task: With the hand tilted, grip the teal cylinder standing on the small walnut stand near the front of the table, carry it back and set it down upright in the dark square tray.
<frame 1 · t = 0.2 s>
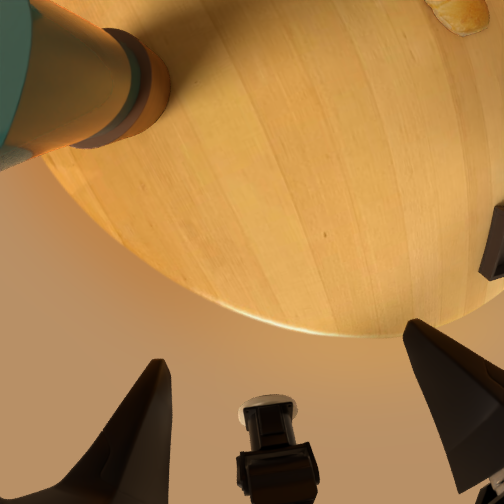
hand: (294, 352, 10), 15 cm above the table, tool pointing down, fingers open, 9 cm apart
teal cylinder: (90, 86, 12), point 6 cm above the table, touching stand
stand: (123, 91, 17), on the table
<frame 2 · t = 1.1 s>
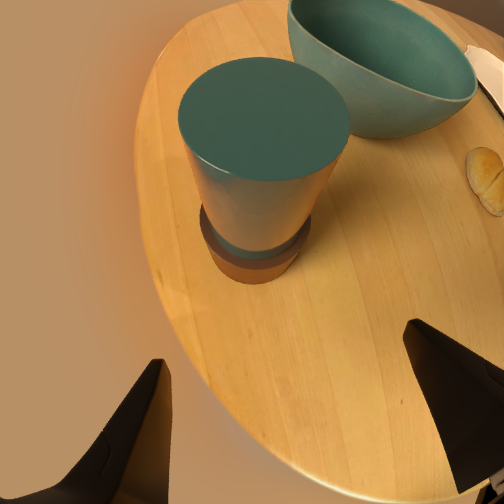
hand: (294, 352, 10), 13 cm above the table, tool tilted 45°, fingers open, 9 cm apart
plant pot: (354, 110, 29), on the table
teal cylinder: (255, 214, 19), point 6 cm above the table, touching stand
bread roll: (485, 186, 27), on the table
stand: (252, 241, 25), on the table
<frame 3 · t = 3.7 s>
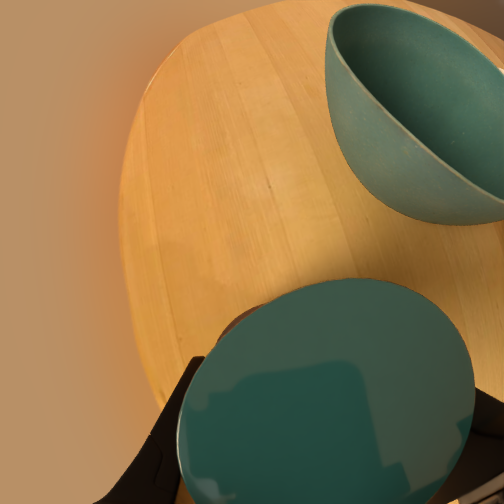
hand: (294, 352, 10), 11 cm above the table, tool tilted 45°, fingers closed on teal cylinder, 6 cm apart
plant pot: (392, 168, 24), on the table
teal cylinder: (282, 372, 14), point 6 cm above the table, touching gripper, stand
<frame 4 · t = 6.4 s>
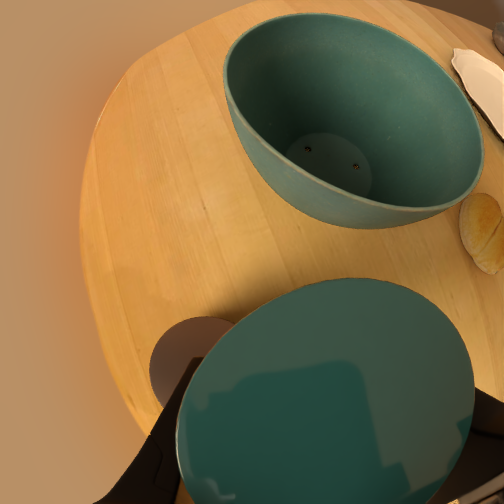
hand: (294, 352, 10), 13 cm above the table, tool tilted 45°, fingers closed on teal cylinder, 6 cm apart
plant pot: (326, 172, 27), on the table
teal cylinder: (281, 372, 14), point 9 cm above the table, touching gripper
bread roll: (480, 237, 26), on the table
stand: (216, 364, 22), on the table
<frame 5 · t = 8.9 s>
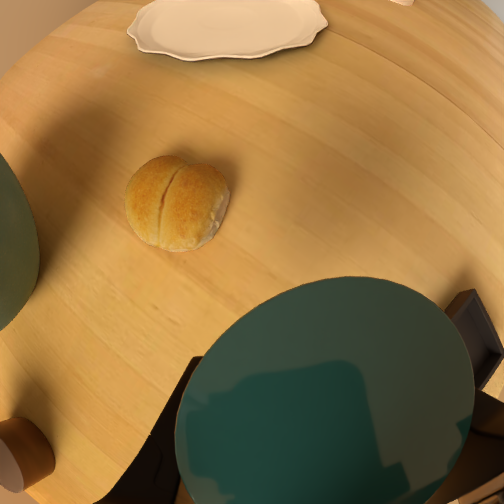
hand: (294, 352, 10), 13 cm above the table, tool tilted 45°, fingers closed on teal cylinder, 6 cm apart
plant pot: (15, 269, 23), on the table
dark square tray: (454, 354, 22), on the table
teal cylinder: (281, 371, 14), point 9 cm above the table, touching gripper
bread roll: (179, 207, 25), on the table
plate: (226, 20, 34), on the table
stand: (30, 447, 18), on the table
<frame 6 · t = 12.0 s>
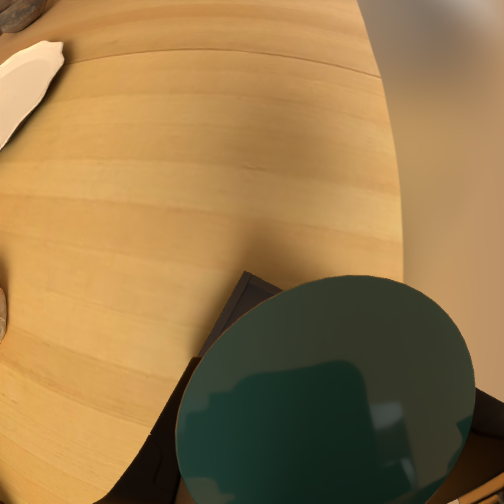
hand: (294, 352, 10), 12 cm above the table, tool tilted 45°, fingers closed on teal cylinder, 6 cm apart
bowl: (29, 24, 37), on the table
dark square tray: (269, 355, 21), on the table
teal cylinder: (282, 371, 14), point 8 cm above the table, touching gripper
when the fingers open (5 cm above the table, at t = 14.5 s): teal cylinder stays where it is, resting on dark square tray.
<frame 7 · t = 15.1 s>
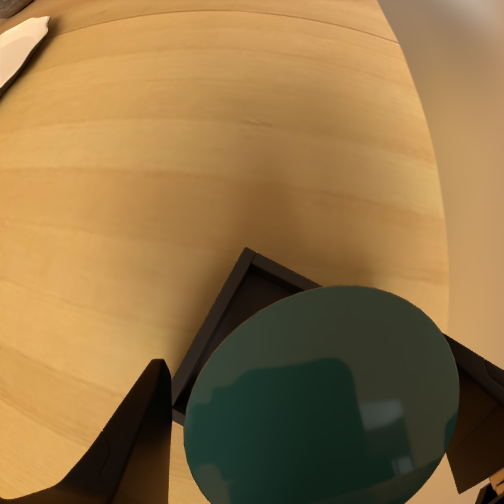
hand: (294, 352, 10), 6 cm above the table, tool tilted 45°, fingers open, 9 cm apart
bowl: (21, 9, 31), on the table
dark square tray: (280, 369, 15), on the table
teal cylinder: (281, 371, 14), resting on dark square tray
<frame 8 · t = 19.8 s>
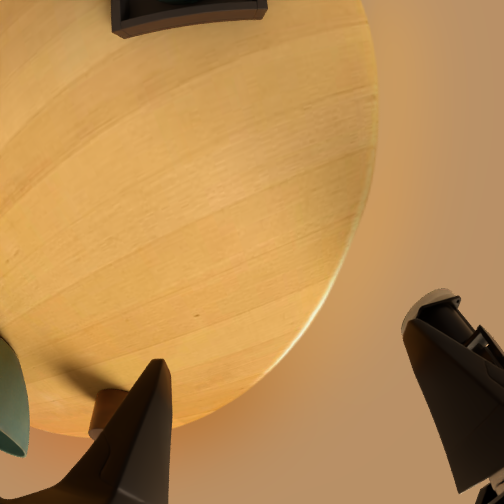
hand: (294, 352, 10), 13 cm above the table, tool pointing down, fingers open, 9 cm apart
stand: (122, 403, 32), on the table
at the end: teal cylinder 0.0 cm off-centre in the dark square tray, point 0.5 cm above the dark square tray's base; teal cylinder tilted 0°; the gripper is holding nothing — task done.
